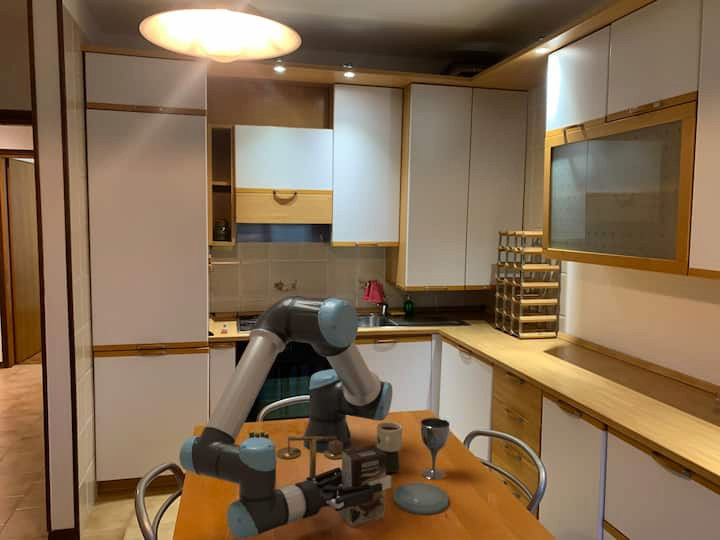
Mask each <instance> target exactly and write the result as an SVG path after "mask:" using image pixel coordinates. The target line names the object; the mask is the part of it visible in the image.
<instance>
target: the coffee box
mask: <svg viewBox="0 0 720 540" xmlns="http://www.w3.org/2000/svg"><path fill="white" fill-rule="evenodd" d="M344 450H345V451H342V459H341V470H342V484H341V485H340V486H341V487H342V488H344V487H353V486H362V485H367V482H370V481H373V480H377V479H380V478H383V477H386V476H387V475H386V474H387V472H386V453H385V452H383V451H382V450H380V449H379V448H378V447H377V445H376V446H375V444H373V445H368V446H367V445H366V446H362V447H355V448H352V449H344ZM385 504H386V489H385V490H382V491H380V492H377V493H374V494H373V501H371V502H367V503H363V504H359V505H356V506H352V507H348V508H345V509H343V510H341V511H339V512H340V515H341V517H342V518H343V519H344V520H345V521H346V522H347V524H348V525H349V526H351V527H356V526H359V525H364V524H367V523H370V522H371V523H372V522H374V521H375V522H376V521H378V520H382V519H385V515H386V514H385V510H386V507H385V506H386V505H385Z"/></svg>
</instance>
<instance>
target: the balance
mask: <svg viewBox="0 0 720 540" xmlns="http://www.w3.org/2000/svg"><path fill="white" fill-rule="evenodd" d="M304 440H310V449H309V477H312V476H316V475H317V451H316V440H334V441H330V442H328V450H326V451H325V452H323V453H324V454H323V456H324V458H326V459H328V460H332V461H334V460H335V461H340V460H341V461H342V451H345V450H346V449H344V450H343V443H342V442H340V441H339V440H337V436H304V435H303V436H297V435H296V436H295V435H294V436H292V435H291V436H288V437H287V441H288V442H287V447H282V448H280V449H278V450H277V451H276V458H279V459H281V460H285V461H287V460H288V461H289V460H290V461H291V460H296V459H297V458H300V457H301V456H302V450H301V449H299V448H297V447H294V446H293V447H290V443H291V442H293V441H295V442H296V441H297V442H299V441H304ZM290 441H291V442H290Z"/></svg>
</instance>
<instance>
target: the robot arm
mask: <svg viewBox="0 0 720 540" xmlns="http://www.w3.org/2000/svg"><path fill="white" fill-rule="evenodd" d="M356 311H357V310H356V309H355V307H354V306H353V304H352V303H351V302H349V301H347V300H344V299H338V298H336V297H332V298H330V297H329V298H328V297H327V298H326V297H315V296H314V297H313V296H301V295H289V296H286V297H283V298H281V299H279V300H277V301H276V302H274V303H273V304H271V305H270V306H269V307H268V308H267V309H266V310H264V311H263V312H262V313H261V314H260V316H259V317H258V318H257V320H256V321H255V322H254V324H253V326H252V327H251V330H250V332H249V334H248V338H249V339H250V340H249V342H248V344H247V346H246V348H245V350H244V352H243V354H242V355H241V358H240V359H239V362H238V363H237V365H236V368H235V369H234V371H233V373H232V374H231V377H230V378H229V380H228V383H227V384H226V387H225V388H224V390H223V391H222V394H221V396H220V398H219V400H218V402H217V404H216V406H215V407H214V410H213V411H212V413H211V415H210V417H209V419H208V421H207V423H206V425H205V426H204V428H203V430H202V432H201V434H200V435H196V436H195V435H193V436H190V437H188V438H187V440H185V441H184V442H183V444H182V446H181V447H180V451H179V465H180V466H181V467H182V468H183V470H185V471H187V472H189V473H193V474H196V475H197V476H204V477H209V478H213V479H218V480H222V481H224V482H229V483H232V484H233V483H234V484H236V485H238V488H239V490H238V491H239V494H238V495H239V497H238V499H237V500H235V501H233V502H231V503H229V504H228V507H227V512H226V521H227V525H228V528H229V531H230V533H231V536H233V537H234V538H235V539H237V540H245V539H248V538H252V537H257V536H259V535H261V534H264V533H266V532H268V531H271V530H274V529H276V528H280V527H283V526H288V525H289V524H292V523H296V522H299V521H301V520H302V519H303V520H304V519H307V518H310V517H314V516H317V514H319V513H320V511H321V510H322V509H323V508H325V507H331V506H332V507H334V511H335V512H340V511H341V510H343V509H345V508H348V507H352V506H356V505H359V504H363V503H367V502H371V501H373V494H374V493H377V492H380V491H382V490H385V491H386V490H387V489H391V487H392V476H390V475H386V477H383V478H380V479H377V480H373V481H370V482H367V485H362V486H353V487H344V488H342V487H341V484H342V467H335V468H331V469H330V470H327V471H324V472H322V473H320V474H316V476H312V477H310V476H308V477H305V478H306V480H304V481H300V482H297V483H295V484H289V485H286V486H283V487H280V488H277V487H276V486H277V485H276V483H277V481H276V479H277V463H278V462H277V451H276V445H275V443H274V441H272V440H271V439H270V438H269V439H267V438H263V437H261V438H256V437H255V436H254V438H249V437H248V438H247V439H245V440H243V441H242V442H240V444H236V441H237V439H238V436H239V435H240V433H241V430H242V429H243V426H244V424H245V421H246V420H247V418H248V416H249V413H250V412H251V409H252V407H253V405H254V403H255V401H256V399H257V397H258V395H259V393H260V390H261V388H262V387H263V385H264V383H265V380H266V379H267V377H268V374H269V372H270V370H271V369H272V366H273V364H274V363H275V360H276V358H277V356H278V354H279V353H281V352H283V351H284V350H285V348H286V346H287V344H288V343H290V342H298V343H304V344H305V343H307V344H310V345H311V346H312V348H313V350H314V351H315V352H316V353H317V354H318V355H320V356H322V357H325V358H326V359H327V361H328V362H329V364H330V366H331V369H326V370H320V371H317V372H315V373H313V374H311V377H310V380H309V387H308V390H309V408H308V410H309V411H308V412H309V413H308V416H309V418H308V422H307V425H306V428H305V432H304V433H303V434H304V435H303V436H337V440H339V441H340V442H342V443H343V450H347V449H348V448H349V447H350V446H351V444H352V435H351V431H350V428H349V425H348V421H347V416H350V417H355V418H363V419H367V420H373V421H381V422H382V421H384V420H385V419H386V418H387V416H388V414H389V412H390V408H391V405H392V400H393V384H391V382H387V381H381V379H380V378H379V376H378V375H377V374H376V373H375V372H373V371H372V370H370V369H369V367H368V365H367V364H366V362H365V360H364V358H363V356H362V354H361V352H360V350H359V348H358V346H357V345H356V343H355V340H356V338H357V335H358V331H359V322H358V314H357V312H356ZM330 441H334V440H316V452H319V453H324V452H325V451H326V450H328V442H330ZM303 446H304V447H306V448H307V449H309V450H310V440H303Z"/></svg>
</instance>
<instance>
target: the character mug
mask: <svg viewBox="0 0 720 540" xmlns="http://www.w3.org/2000/svg"><path fill="white" fill-rule="evenodd" d="M376 426H377V427H376V447H377V448H379V449H380V450H382V451H383V452H385V453H386V474H387V473H388V474H389V473H396V472H399V471H400V467H401V466H400V458H399V457H400V456H399V452H398V451H400V450H401V449H402V443H403V440H402V439H403V425H401V424H400V423H398V422H392V421H383V422H380V423H378V424H377V425H376Z"/></svg>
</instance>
